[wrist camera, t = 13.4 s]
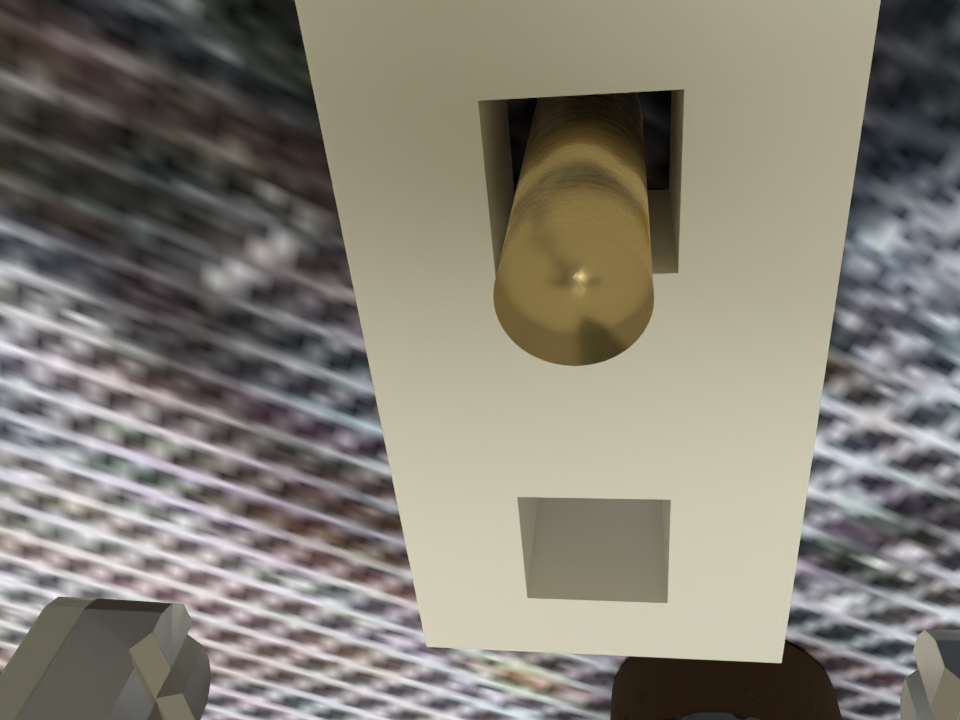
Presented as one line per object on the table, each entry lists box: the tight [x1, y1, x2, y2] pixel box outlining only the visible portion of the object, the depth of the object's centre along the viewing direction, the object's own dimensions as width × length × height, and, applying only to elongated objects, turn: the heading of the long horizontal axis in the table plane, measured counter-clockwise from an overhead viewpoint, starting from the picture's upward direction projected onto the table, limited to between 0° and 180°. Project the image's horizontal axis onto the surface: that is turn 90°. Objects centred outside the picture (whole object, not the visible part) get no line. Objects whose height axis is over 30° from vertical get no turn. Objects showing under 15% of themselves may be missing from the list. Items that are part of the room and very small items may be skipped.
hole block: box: [295, 0, 881, 663], centre depth 26 cm, size 22×12×5 cm, turn 5°
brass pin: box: [493, 92, 654, 366], centre depth 21 cm, size 3×3×10 cm
